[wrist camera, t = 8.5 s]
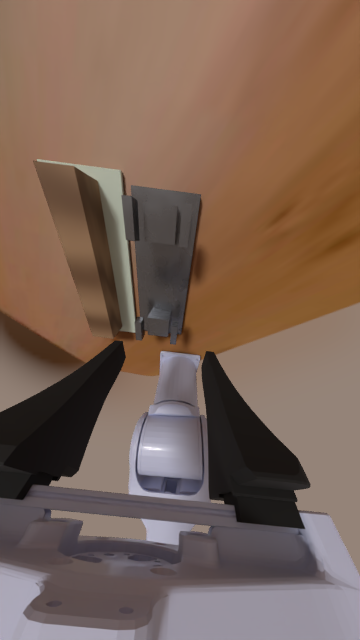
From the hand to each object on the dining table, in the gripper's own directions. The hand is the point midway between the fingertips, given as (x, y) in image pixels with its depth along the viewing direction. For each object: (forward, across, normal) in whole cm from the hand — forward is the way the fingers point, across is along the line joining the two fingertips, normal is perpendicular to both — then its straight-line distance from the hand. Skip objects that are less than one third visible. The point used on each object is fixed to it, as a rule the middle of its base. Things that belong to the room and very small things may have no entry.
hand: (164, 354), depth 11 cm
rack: (+10, +2, -3) cm, 11 cm away
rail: (+10, +10, -3) cm, 15 cm away
